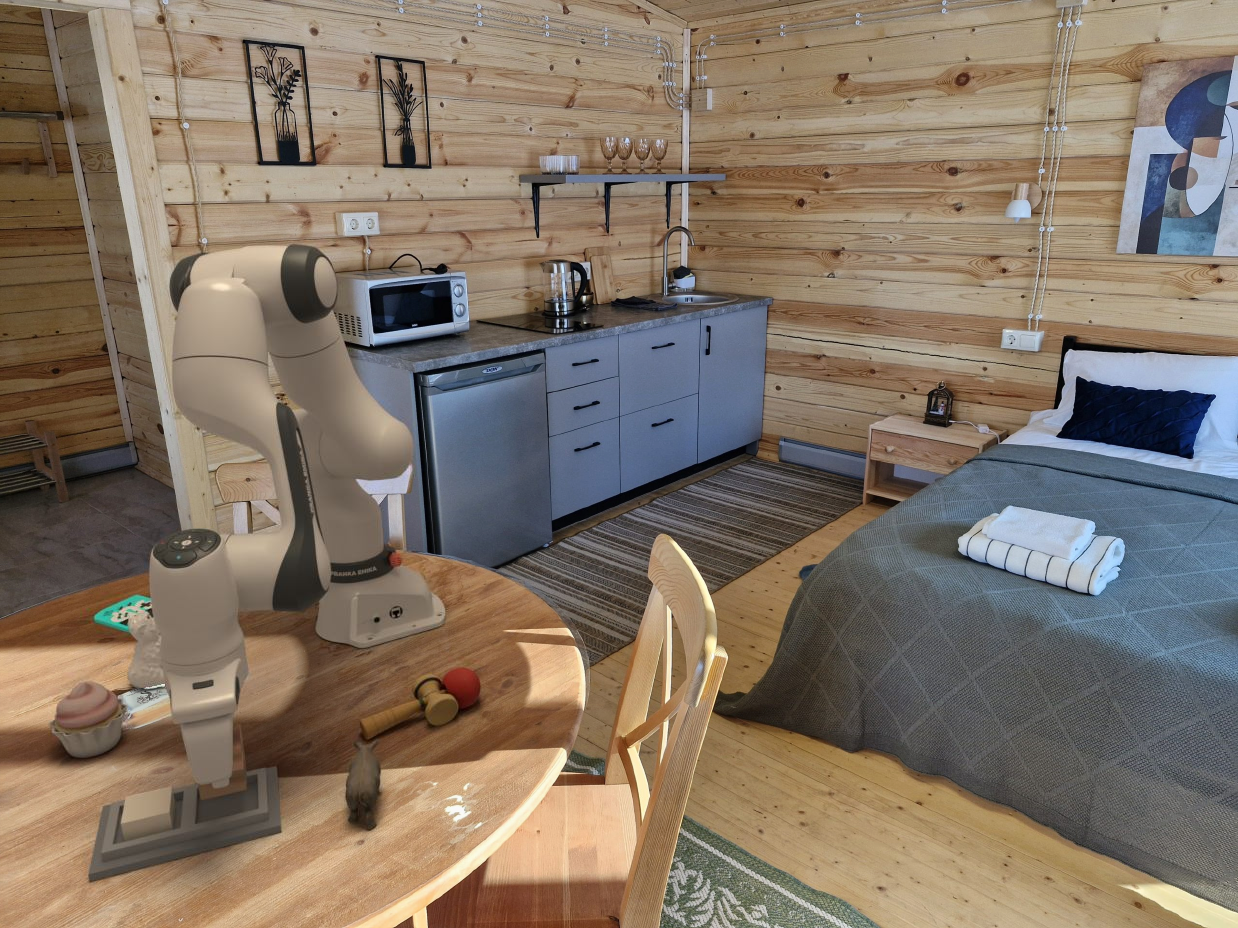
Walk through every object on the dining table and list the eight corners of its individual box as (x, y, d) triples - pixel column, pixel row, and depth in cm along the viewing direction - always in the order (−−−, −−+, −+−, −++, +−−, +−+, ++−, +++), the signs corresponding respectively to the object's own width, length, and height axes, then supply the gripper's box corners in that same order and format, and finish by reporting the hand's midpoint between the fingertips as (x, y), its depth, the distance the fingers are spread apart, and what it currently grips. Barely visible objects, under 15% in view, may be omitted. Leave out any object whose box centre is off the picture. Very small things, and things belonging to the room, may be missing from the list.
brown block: (202, 774, 105) (195, 733, 103) (246, 765, 107) (240, 724, 105) (200, 800, 101) (193, 757, 99) (246, 789, 103) (240, 747, 101)
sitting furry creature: (200, 680, 134) (189, 612, 130) (141, 703, 128) (128, 632, 124) (177, 658, 140) (165, 593, 136) (119, 679, 134) (106, 611, 130)
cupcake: (77, 775, 112) (63, 709, 109) (42, 751, 117) (27, 687, 113) (147, 738, 119) (135, 676, 116) (111, 717, 124) (98, 657, 121)
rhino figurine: (385, 759, 116) (381, 721, 114) (380, 829, 103) (376, 788, 101) (353, 763, 115) (350, 725, 113) (345, 834, 102) (340, 793, 100)
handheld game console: (139, 599, 161) (137, 592, 161) (199, 616, 155) (198, 609, 154) (88, 622, 152) (87, 615, 152) (149, 641, 146) (148, 634, 146)
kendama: (378, 762, 117) (494, 705, 126) (365, 722, 116) (483, 667, 125) (362, 742, 123) (473, 689, 133) (349, 704, 122) (463, 652, 131)
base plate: (277, 772, 113) (273, 746, 111) (281, 831, 102) (277, 804, 101) (104, 812, 105) (98, 785, 104) (89, 881, 95) (83, 852, 93)
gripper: (181, 632, 107) (196, 726, 111) (170, 720, 89) (188, 828, 93) (235, 623, 109) (248, 715, 113) (235, 707, 91) (251, 813, 96)
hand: (221, 767), depth 103 cm, fingers closed on brown block, 5 cm apart
